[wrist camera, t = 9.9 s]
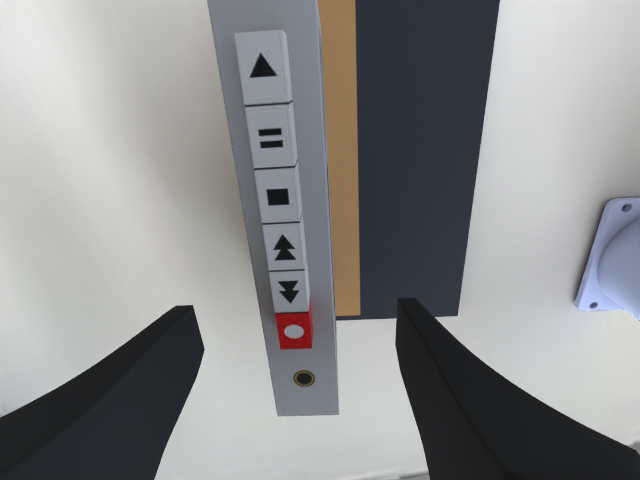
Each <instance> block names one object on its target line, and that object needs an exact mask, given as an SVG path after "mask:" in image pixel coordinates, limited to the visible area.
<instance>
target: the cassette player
mask: <svg viewBox="0 0 640 480" xmlns="http://www.w3.org/2000/svg"><path fill="white" fill-rule="evenodd" d="M207 2H208V8H209V14H210V20H211V26H212V32H213V37H214V43H215V49H216V55H217V61H218V67H219V73H220V79H221V85H222V91H223V97H224V102H225V108H226V114H227V120H228V126H229V132H230V138H231V144H232V150H233V156H234V161H235V167H236V173H237V179H238V185H239V191H240V197H241V203H242V209H243V215H244V221H245V226H246V232H247V238H248V244H249V250H250V256H251V262H252V268H253V274H254V280H255V285H256V291H257V297H258V303H259V309H260V315H261V321H262V327H263V333H264V339H265V345H266V350H267V356H268V362H269V368H270V374H271V380H272V386H273V392H274V398H275V404H276V410H277V415H278V416H312V415H339V405H338V373H337V341H336V309H335V285H334V265H333V246H332V227H331V208H330V189H329V170H328V151H327V132H326V112H325V93H324V74H323V55H322V36H321V22H320V15H319V8H318V1H317V0H207Z"/></svg>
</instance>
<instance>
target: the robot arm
mask: <svg viewBox="0 0 640 480" xmlns="http://www.w3.org/2000/svg"><path fill="white" fill-rule="evenodd" d="M625 204H626V207H625V208H624V209H622V207H623V206H624V205H625ZM591 303H592V304H591ZM590 304H591V305H590ZM575 306H576V307H577V308H578V309H579V310H580V311H600V310H626V311H628V312H629V313H630V314H632V315H633V316H634V317H635V318H637V319H638V320H639V321H640V197H633V198H616V199H612V200H610V201H609V202H608V203H607V204H606V206H605V208H604V211H603V214H602V218H601V221H600V224H599V227H598V231H597V234H596V237H595V240H594V243H593V247H592V250H591V253H590V256H589V259H588V263H587V266H586V269H585V272H584V276H583V279H582V282H581V285H580V288H579V292H578V295H577V298H576V301H575ZM395 344H396V350H397V356H398V361H399V366H400V371H401V375H402V378H403V381H404V385H405V388H406V391H407V394H408V398H409V401H410V404H411V407H412V410H413V414H414V417H415V420H416V423H417V426H418V430H419V433H420V436H421V440H422V444H423V448H424V452H425V457H426V461H427V466H428V471H429V476H430V480H640V455H639V454H638V452H637V451H636V450H634V449H632V448H630V447H628V446H626V445H624V444H621V443H619V442H617V441H615V440H613V439H611V438H609V437H607V436H605V435H603V434H601V433H599V432H597V431H595V430H592V429H590V428H588V427H586V426H584V425H582V424H581V423H579V422H577V421H575V420H573V419H571V418H570V417H568V416H566V415H564V414H562V413H560V412H559V411H557V410H555V409H553V408H552V407H550V406H548V405H546V404H545V403H543V402H541V401H540V400H538V399H536V398H535V397H533V396H532V395H530V394H528V393H527V392H525V391H524V390H522V389H521V388H519V387H517V386H516V385H514V384H513V383H511V382H510V381H509V380H507V379H506V378H504V377H503V376H501V375H500V374H499V373H497V372H496V371H495V370H493V369H492V368H491V367H489V366H488V365H486V364H485V363H484V362H483V361H481V360H480V359H479V358H478V357H476V356H475V355H474V354H473V353H472V352H470V351H469V350H468V349H467V348H466V347H465V346H464V345H462V344H461V343H460V342H459V341H458V340H457V339H456V338H455V337H454V336H453V335H452V334H451V333H450V332H449V331H448V330H447V329H446V328H444V327H443V326H442V325H441V323H440V322H439V321H438V320H437V319H436V318H435V317H434V316H433V315H432V314H431V313H430V312H429V311H428V310H427V309H426V308H425V307H424V306H423V304H422V303H421V302H420V301H419V300H418V299H417V298H416V297H413V298H398V301H397V322H396V343H395ZM204 350H205V349H204V346H203V342H202V338H201V334H200V331H199V327H198V323H197V319H196V315H195V312H194V308H193V305H186V306H175V307H174V308H172V309H171V310H169V311H168V312H166V313H165V314H164V315H162V316H161V317H160V318H158V319H157V320H156V321H154V322H153V323H152V324H150V325H149V326H148V327H147V328H145V329H144V330H143V331H141V332H140V333H139V334H137V335H136V336H135V337H133V338H132V339H131V340H129V341H128V342H127V343H125V344H124V345H122V346H121V347H120V348H118V349H117V350H115V351H114V352H112V353H111V354H110V355H108V356H107V357H105V358H104V359H103V360H101V361H100V362H98V363H97V364H95V365H94V366H92V367H91V368H89V369H88V370H86V371H84V372H83V373H81V374H80V375H78V376H76V377H75V378H73V379H71V380H70V381H68V382H66V383H65V384H63V385H61V386H60V387H58V388H56V389H55V390H53V391H51V392H49V393H47V394H45V395H43V396H41V397H40V398H38V399H36V400H34V401H32V402H30V403H28V404H27V405H25V406H23V407H21V408H19V409H17V410H15V411H13V412H11V413H9V414H7V415H5V416H3V417H1V418H0V480H154V479H155V476H156V473H157V470H158V467H159V464H160V461H161V458H162V455H163V452H164V450H165V447H166V445H167V442H168V440H169V438H170V435H171V433H172V431H173V429H174V426H175V424H176V422H177V420H178V418H179V415H180V413H181V411H182V409H183V406H184V404H185V402H186V400H187V398H188V395H189V393H190V391H191V389H192V386H193V384H194V382H195V379H196V377H197V374H198V371H199V368H200V364H201V361H202V357H203V354H204Z"/></svg>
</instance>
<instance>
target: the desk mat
mask: <svg viewBox="0 0 640 480" xmlns="http://www.w3.org/2000/svg"><path fill="white" fill-rule="evenodd" d="M317 1H318V8H319V15H320V22H321V36H322V55H323V74H324V93H325V112H326V132H327V151H328V170H329V189H330V208H331V227H332V246H333V265H334V285H335V309H336V320H363V319H389V318H397V301H398V298H413V297H416V298H417V299H418V300H419V301H420V302H421V303H422V304H423V306H424V307H425V308H426V309H427V310H428V311H429V312H430V313H431V314H432V315H433V316H434V317H442V316H457V315H458V308H459V300H460V293H461V285H462V278H463V270H464V263H465V256H466V248H467V241H468V233H469V226H470V218H471V211H472V204H473V196H474V189H475V181H476V174H477V166H478V159H479V151H480V144H481V137H482V129H483V122H484V114H485V107H486V99H487V92H488V85H489V77H490V70H491V62H492V55H493V47H494V40H495V33H496V25H497V18H498V10H499V3H500V0H317Z"/></svg>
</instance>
